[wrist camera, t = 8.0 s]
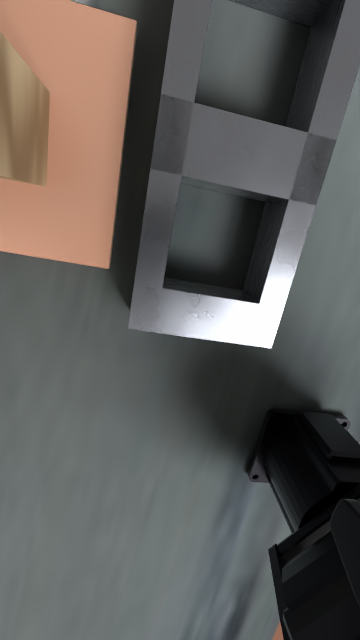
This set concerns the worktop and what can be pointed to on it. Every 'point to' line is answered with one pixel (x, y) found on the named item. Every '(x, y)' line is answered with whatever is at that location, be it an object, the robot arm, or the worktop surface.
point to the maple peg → (22, 120)
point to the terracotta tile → (71, 129)
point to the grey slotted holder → (242, 172)
